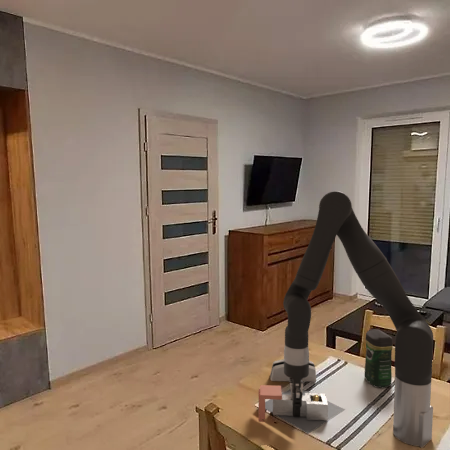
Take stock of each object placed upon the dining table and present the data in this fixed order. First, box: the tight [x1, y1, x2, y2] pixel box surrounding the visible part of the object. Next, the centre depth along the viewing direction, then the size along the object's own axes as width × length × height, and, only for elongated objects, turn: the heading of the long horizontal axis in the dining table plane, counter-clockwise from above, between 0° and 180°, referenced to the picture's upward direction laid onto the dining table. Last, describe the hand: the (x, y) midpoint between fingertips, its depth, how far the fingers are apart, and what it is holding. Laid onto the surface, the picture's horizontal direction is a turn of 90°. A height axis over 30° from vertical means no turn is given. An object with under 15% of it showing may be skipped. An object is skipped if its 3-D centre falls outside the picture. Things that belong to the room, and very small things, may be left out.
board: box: [265, 388, 346, 434], centre depth 127 cm, size 20×18×1 cm
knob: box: [313, 395, 319, 402], centre depth 122 cm, size 2×2×7 cm
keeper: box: [258, 384, 283, 423], centre depth 123 cm, size 7×6×8 cm
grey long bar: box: [272, 392, 329, 422], centre depth 122 cm, size 16×6×5 cm, turn 84°
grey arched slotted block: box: [269, 358, 317, 383], centre depth 145 cm, size 17×5×10 cm, turn 87°
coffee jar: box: [364, 328, 394, 388], centre depth 143 cm, size 10×8×19 cm
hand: (295, 412), depth 123 cm, fingers closed on grey long bar, 3 cm apart
